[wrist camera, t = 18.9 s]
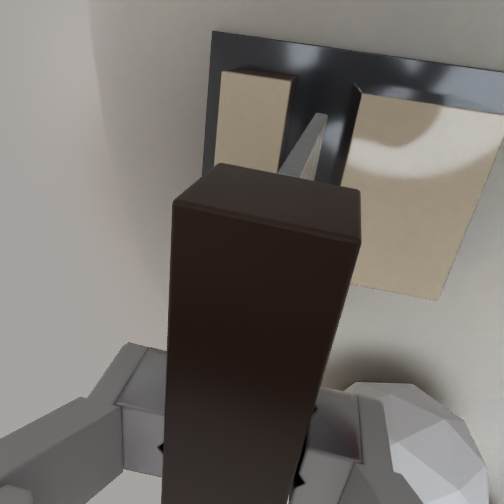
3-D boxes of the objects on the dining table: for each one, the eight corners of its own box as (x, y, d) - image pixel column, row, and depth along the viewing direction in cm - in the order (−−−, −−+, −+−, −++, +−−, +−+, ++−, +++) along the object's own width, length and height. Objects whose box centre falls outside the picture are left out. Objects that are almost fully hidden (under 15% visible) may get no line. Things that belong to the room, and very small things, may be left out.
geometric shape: (413, 372, 43) (539, 521, 33) (299, 453, 44) (388, 624, 34) (388, 318, 33) (561, 513, 23) (239, 426, 33) (342, 662, 23)
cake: (214, 31, 27) (188, 27, 22) (524, 74, 25) (571, 81, 21) (199, 242, 35) (177, 275, 30) (438, 288, 33) (457, 331, 28)
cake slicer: (284, 106, 13) (170, 200, 5) (360, 119, 13) (363, 240, 5) (246, 346, 18) (157, 586, 10) (300, 361, 17) (252, 620, 9)
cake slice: (238, 67, 27) (221, 71, 23) (297, 76, 27) (291, 81, 23) (222, 228, 33) (206, 255, 29) (271, 237, 33) (262, 266, 28)
